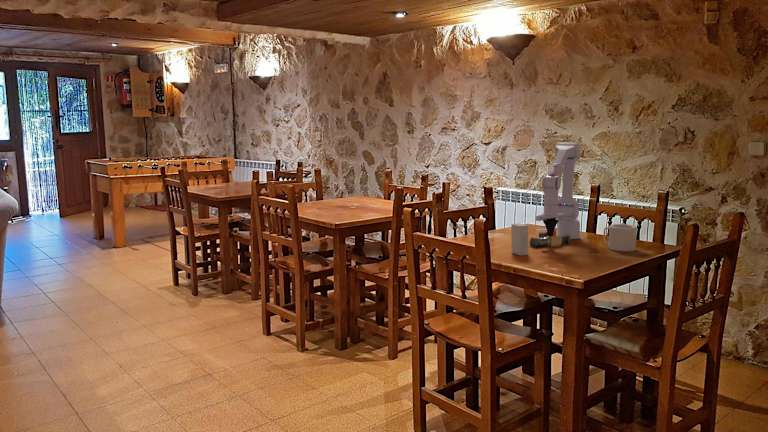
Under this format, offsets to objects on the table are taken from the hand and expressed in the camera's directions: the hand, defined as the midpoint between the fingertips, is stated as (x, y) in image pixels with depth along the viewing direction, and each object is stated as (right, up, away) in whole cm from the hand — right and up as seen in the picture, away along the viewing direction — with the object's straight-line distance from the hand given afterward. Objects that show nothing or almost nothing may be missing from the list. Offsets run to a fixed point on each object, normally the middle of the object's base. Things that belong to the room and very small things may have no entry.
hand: (550, 236), depth 258 cm
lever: (0, 0, +3) cm, 3 cm away
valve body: (+3, -4, +7) cm, 9 cm away
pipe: (+2, -4, +7) cm, 8 cm away
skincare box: (-15, -7, -9) cm, 19 cm away
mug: (+29, -6, -1) cm, 29 cm away
